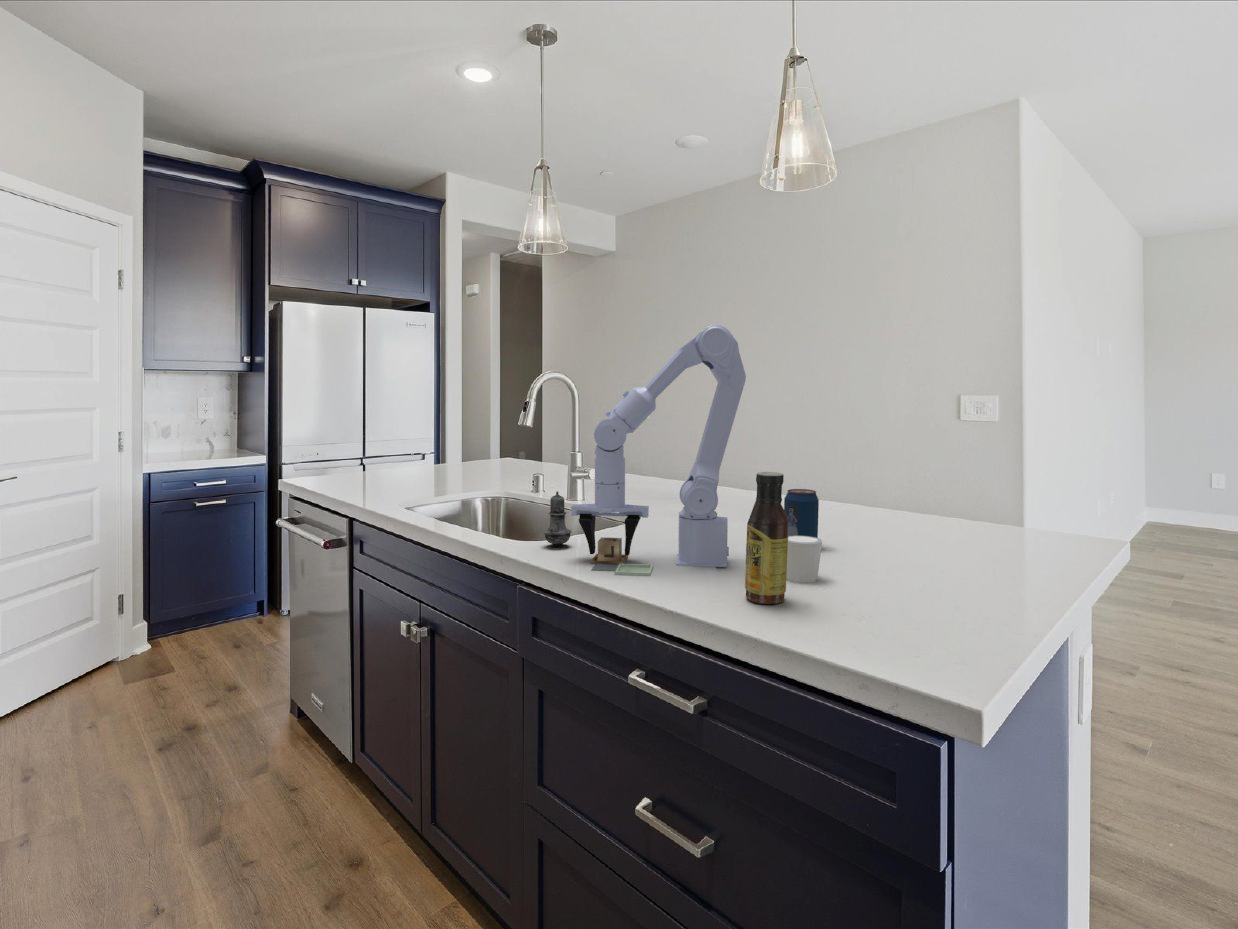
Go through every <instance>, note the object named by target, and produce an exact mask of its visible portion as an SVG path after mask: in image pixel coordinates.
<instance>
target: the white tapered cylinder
mask: <svg viewBox="0 0 1238 929" xmlns="http://www.w3.org/2000/svg"><path fill="white" fill-rule="evenodd" d="M822 546H823V540H822V539H821V538H819V537H818V538H816V537H810V536H788V554H787V576H786V581H789V582H792V583H801V584H808V583H814V582H815V583H816V582H817V581H818V578H819V570H820V561H821V553H822V548H823V547H822Z"/></svg>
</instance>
